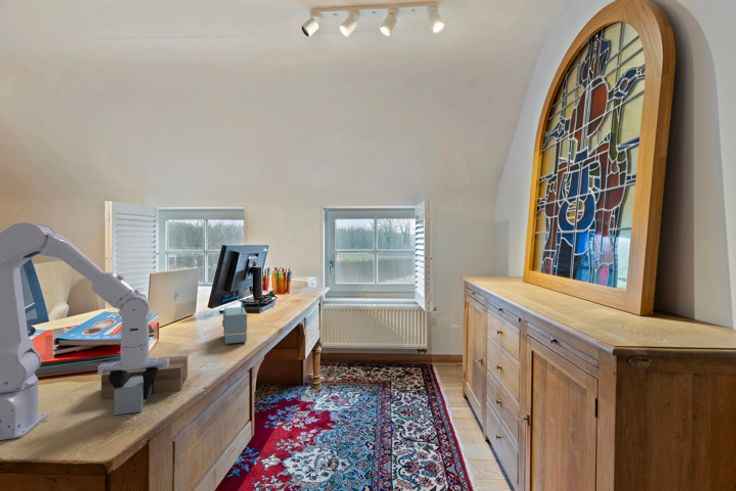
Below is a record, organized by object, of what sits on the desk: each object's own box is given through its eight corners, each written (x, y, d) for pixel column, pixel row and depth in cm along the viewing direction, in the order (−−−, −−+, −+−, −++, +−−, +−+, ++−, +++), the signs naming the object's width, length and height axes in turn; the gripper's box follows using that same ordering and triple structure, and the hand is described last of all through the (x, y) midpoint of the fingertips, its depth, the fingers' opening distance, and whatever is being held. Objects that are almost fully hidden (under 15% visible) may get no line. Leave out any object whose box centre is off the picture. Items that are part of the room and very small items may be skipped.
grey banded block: (221, 336, 145) (221, 289, 145) (243, 333, 149) (243, 288, 149) (222, 346, 131) (222, 294, 130) (246, 343, 134) (247, 293, 134)
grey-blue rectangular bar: (141, 411, 80) (141, 387, 80) (114, 415, 78) (114, 390, 78) (160, 382, 96) (160, 362, 96) (138, 385, 94) (138, 364, 94)
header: (180, 390, 92) (180, 367, 92) (101, 399, 86) (101, 374, 86) (187, 376, 101) (187, 355, 101) (116, 383, 96) (116, 361, 96)
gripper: (172, 337, 89) (171, 388, 89) (106, 342, 85) (106, 396, 85) (165, 345, 83) (165, 400, 83) (94, 350, 78) (93, 409, 78)
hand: (134, 399), depth 83 cm, fingers closed on grey-blue rectangular bar, 4 cm apart
